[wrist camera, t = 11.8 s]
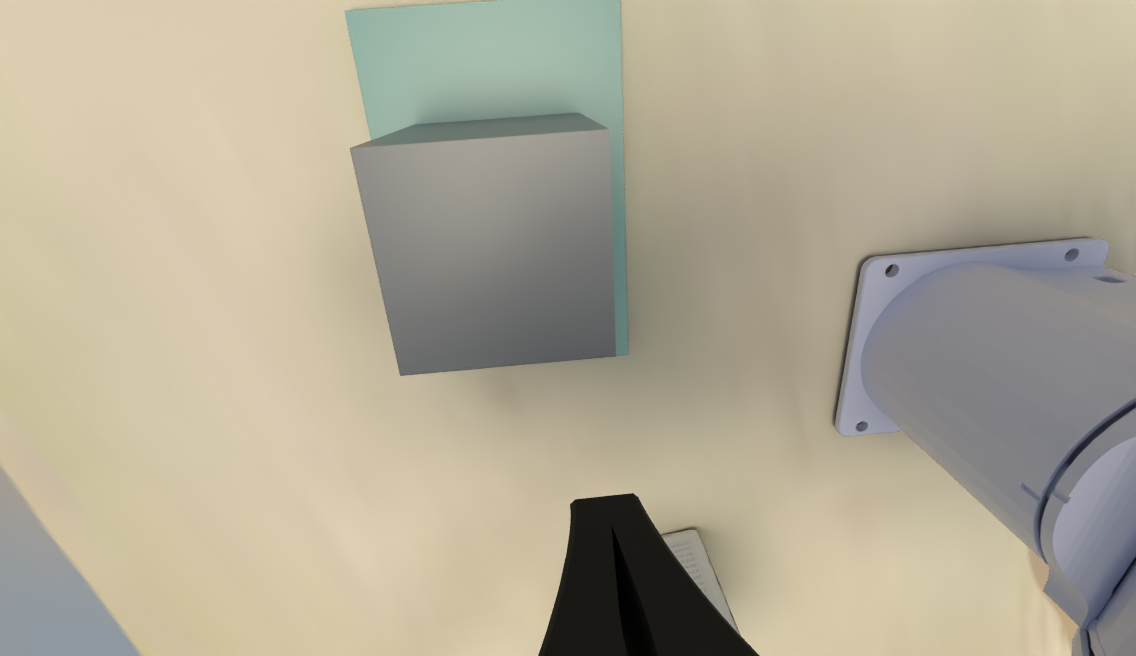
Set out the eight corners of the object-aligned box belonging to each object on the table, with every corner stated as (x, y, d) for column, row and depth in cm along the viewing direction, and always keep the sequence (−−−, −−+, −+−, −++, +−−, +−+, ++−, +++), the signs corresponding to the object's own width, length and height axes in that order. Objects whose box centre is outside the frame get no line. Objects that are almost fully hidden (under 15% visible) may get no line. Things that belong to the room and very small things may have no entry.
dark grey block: (579, 112, 17) (609, 129, 11) (587, 268, 19) (616, 356, 13) (414, 124, 17) (349, 148, 11) (440, 281, 19) (400, 375, 13)
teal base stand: (617, -5, 16) (663, -50, 11) (625, 347, 21) (660, 440, 16) (350, 13, 16) (258, -24, 11) (422, 366, 21) (385, 467, 16)
